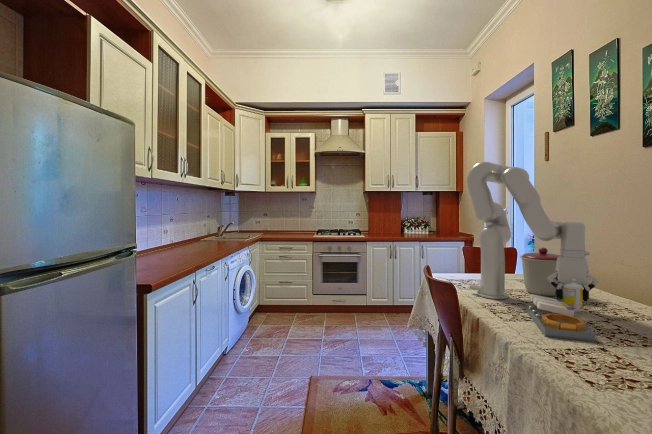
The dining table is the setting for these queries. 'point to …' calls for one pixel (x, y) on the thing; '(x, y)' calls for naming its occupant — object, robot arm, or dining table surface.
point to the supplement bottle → (573, 295)
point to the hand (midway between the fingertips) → (571, 299)
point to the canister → (539, 272)
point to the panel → (560, 325)
